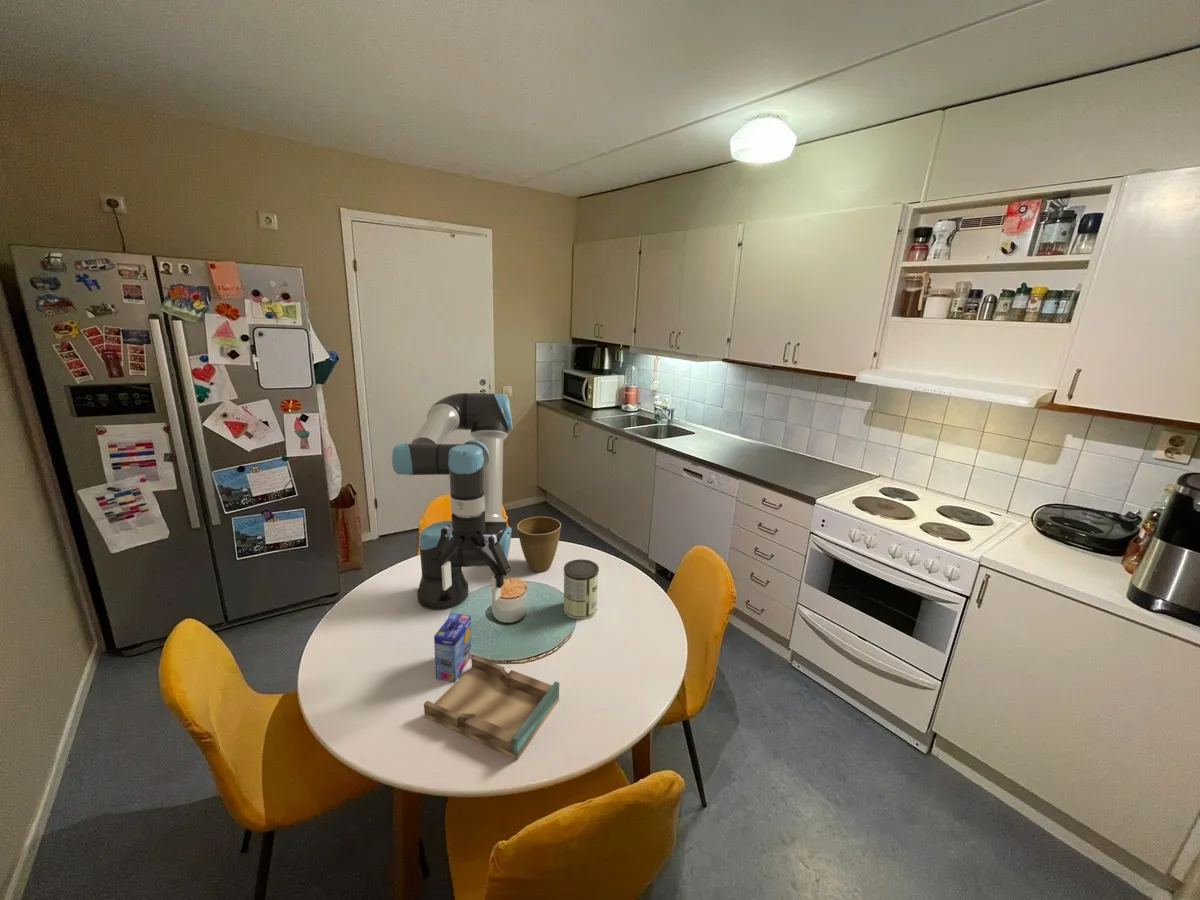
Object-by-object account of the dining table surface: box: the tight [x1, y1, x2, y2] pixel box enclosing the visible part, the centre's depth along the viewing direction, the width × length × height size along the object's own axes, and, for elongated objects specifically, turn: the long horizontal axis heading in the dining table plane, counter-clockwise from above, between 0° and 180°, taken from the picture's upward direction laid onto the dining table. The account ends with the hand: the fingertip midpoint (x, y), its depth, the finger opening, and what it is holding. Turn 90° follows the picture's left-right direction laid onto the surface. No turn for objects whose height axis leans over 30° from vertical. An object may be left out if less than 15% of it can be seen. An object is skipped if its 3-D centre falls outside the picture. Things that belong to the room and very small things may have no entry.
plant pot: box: [516, 516, 562, 573], centre depth 166 cm, size 15×15×16 cm
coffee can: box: [563, 558, 600, 620], centre depth 143 cm, size 10×10×14 cm
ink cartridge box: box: [433, 612, 472, 683], centre depth 118 cm, size 10×6×14 cm, turn 171°
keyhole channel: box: [423, 655, 560, 761], centre depth 107 cm, size 24×17×5 cm
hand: (471, 592), depth 117 cm, fingers open, 13 cm apart
